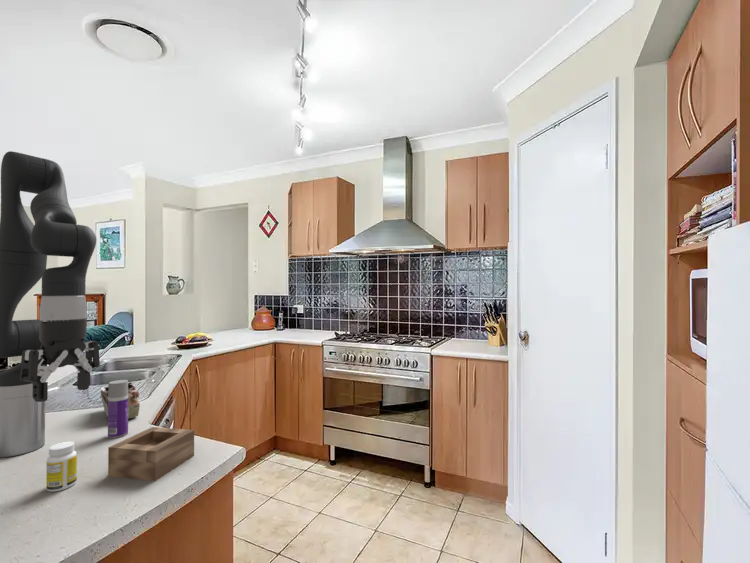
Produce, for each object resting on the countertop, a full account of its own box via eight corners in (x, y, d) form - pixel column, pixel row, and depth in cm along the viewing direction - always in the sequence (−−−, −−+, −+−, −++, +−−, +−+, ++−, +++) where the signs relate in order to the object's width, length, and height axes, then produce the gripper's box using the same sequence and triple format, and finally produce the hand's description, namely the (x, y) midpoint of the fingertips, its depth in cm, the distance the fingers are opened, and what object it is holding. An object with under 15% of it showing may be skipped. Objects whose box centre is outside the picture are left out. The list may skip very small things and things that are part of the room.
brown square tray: (108, 477, 79) (108, 447, 79) (151, 453, 91) (152, 427, 91) (155, 482, 77) (155, 451, 77) (194, 456, 88) (194, 430, 89)
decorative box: (86, 429, 106) (86, 396, 107) (89, 412, 122) (89, 383, 123) (139, 419, 114) (140, 389, 114) (135, 404, 130) (136, 377, 131)
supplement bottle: (73, 477, 78) (74, 438, 79) (79, 485, 75) (79, 444, 76) (44, 487, 75) (44, 446, 75) (48, 495, 72) (49, 452, 72)
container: (130, 434, 102) (130, 381, 102) (109, 440, 98) (110, 384, 99) (125, 430, 105) (126, 378, 106) (105, 435, 102) (106, 381, 102)
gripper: (81, 315, 84) (81, 385, 83) (9, 320, 70) (8, 405, 69) (109, 315, 82) (109, 386, 82) (41, 320, 68) (40, 406, 68)
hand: (63, 395), depth 76 cm, fingers open, 8 cm apart
